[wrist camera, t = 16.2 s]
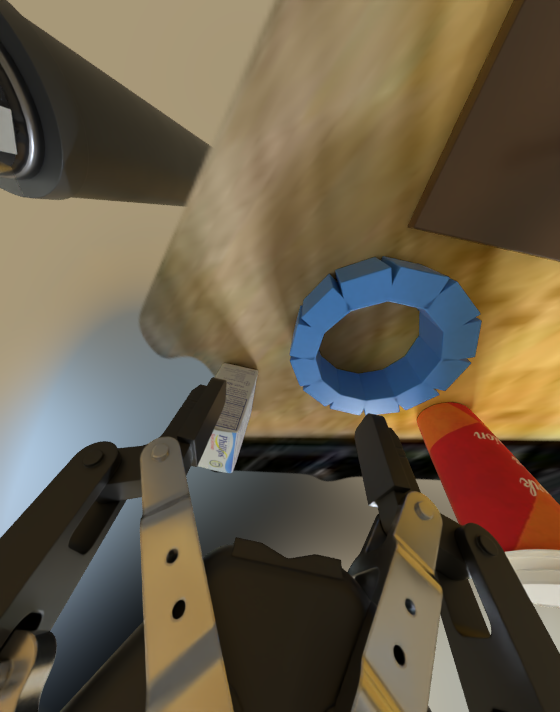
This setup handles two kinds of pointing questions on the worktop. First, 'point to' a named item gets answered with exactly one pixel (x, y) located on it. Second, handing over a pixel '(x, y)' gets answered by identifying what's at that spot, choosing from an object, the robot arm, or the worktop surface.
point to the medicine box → (231, 418)
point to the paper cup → (496, 496)
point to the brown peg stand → (505, 145)
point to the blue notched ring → (421, 363)
